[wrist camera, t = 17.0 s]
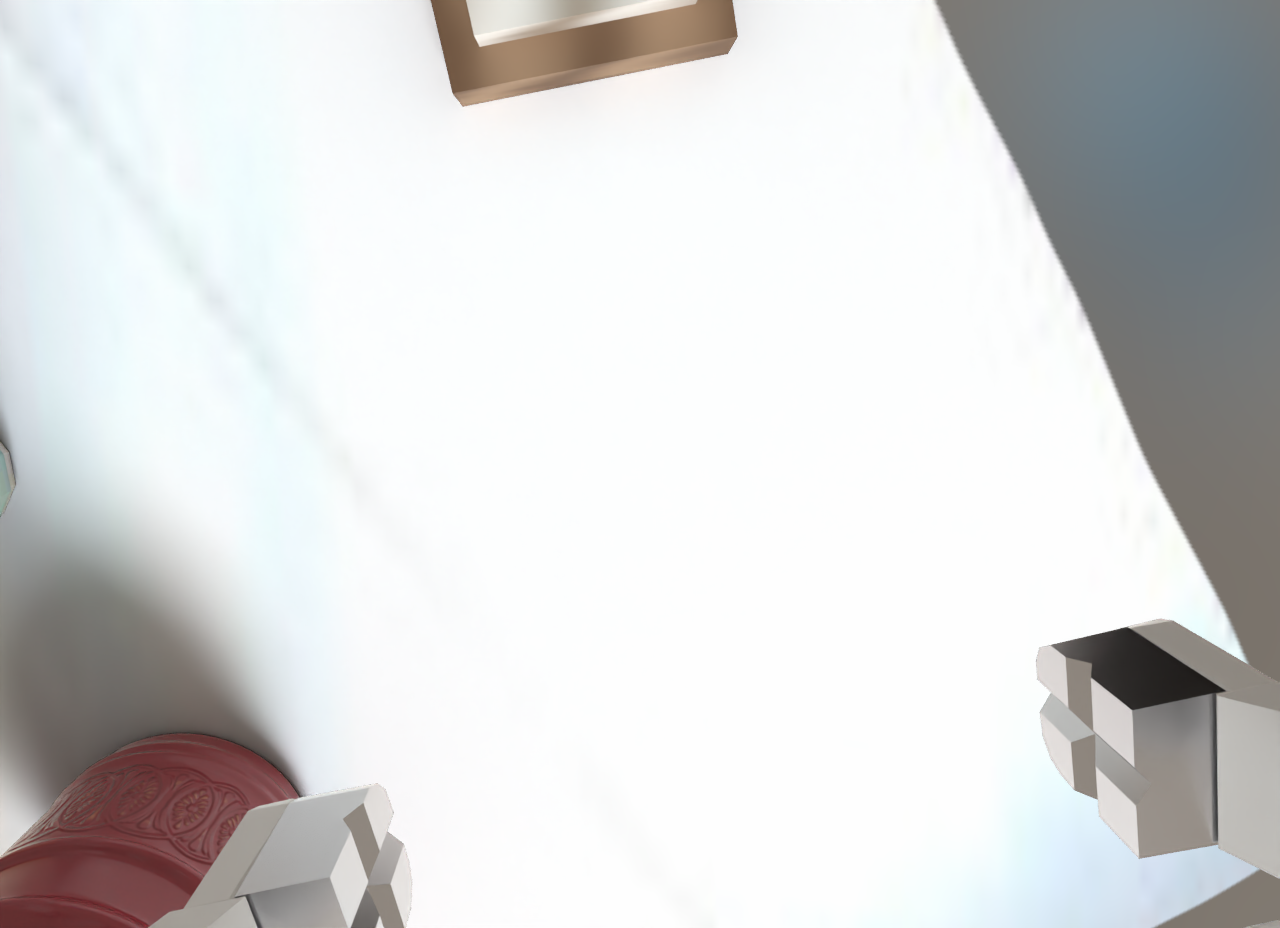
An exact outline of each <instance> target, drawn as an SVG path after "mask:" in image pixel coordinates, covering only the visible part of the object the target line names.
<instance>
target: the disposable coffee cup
mask: <svg viewBox="0 0 1280 928" xmlns="http://www.w3.org/2000/svg"><path fill="white" fill-rule="evenodd" d="M15 485H16V483H15V479H14V474H13V469H12V464H11V459H10V455H9V452H8V450H7V449H6V448H5V447H4V446H3V444H2V443H1V442H0V517H1V514H3V513H4V511H5V509H6V507H7V504H8V502H9V500H10V497H11V495H12V492H13V490H14V488H15Z"/></svg>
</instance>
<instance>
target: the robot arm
mask: <svg viewBox="0 0 1280 928" xmlns="http://www.w3.org/2000/svg"><path fill="white" fill-rule="evenodd" d="M1036 666H1037V679H1038V680H1039V681H1040V682H1041V683H1042V684H1043V685H1044V686H1045V687H1046V688H1047V689H1048V690H1049V691H1050V692H1051V694H1050V695H1049V697H1048V699H1047V700H1046V702H1045V704H1044V706H1043V707H1042V709H1041V711H1040V717H1041V726H1042V735H1043V739H1044V741H1045V744H1046V747H1047V749H1048V752H1049V755H1050V758H1051V760H1052V761H1053V763H1054V765H1055V766H1056V768H1057V770H1058V771H1059V773H1060V774H1061V776H1062V777H1063V778H1064V779H1065V780H1066V781H1067V782H1068V784H1069V785H1070V786H1071V787H1072V788H1073V789H1074V790H1075V791H1078V792H1080V793H1083V794H1085V795H1088V796H1090V797H1093V798H1095V799H1098V809H1099V817H1100V818H1101V819H1102V820H1103V821H1104V822H1105V823H1106V824H1107V825H1108V826H1109V827H1110V829H1111V830H1112V831H1113V832H1114V833H1115V834H1116V835H1117V836H1118V837H1119V838H1120V839H1121V840H1122V841H1123V842H1124V843H1125V844H1126V845H1127V846H1128V848H1129V849H1130V850H1131V851H1132V852H1133V853H1134V854H1135V855H1136V856H1137V857H1138V858H1139V859H1140V858H1145V857H1151V856H1157V855H1162V854H1168V853H1173V852H1179V851H1185V850H1190V849H1196V848H1201V847H1207V846H1213V845H1218V848H1219V849H1221V850H1223V851H1225V852H1227V853H1229V854H1231V855H1233V856H1235V857H1237V858H1239V859H1241V860H1243V861H1245V862H1247V863H1249V864H1251V865H1253V866H1255V867H1257V868H1259V869H1261V870H1263V871H1265V872H1267V873H1269V874H1271V875H1273V876H1275V877H1277V878H1279V879H1280V681H1275V680H1273V679H1272V678H1270V677H1268V676H1267V675H1265V674H1263V673H1262V672H1260V671H1258V670H1256V669H1255V668H1253V667H1251V666H1250V665H1248V664H1246V663H1244V662H1243V661H1241V660H1239V659H1238V658H1236V657H1234V656H1232V655H1231V654H1229V653H1227V652H1226V651H1224V650H1222V649H1221V648H1219V647H1217V646H1215V645H1214V644H1212V643H1210V642H1209V641H1207V640H1205V639H1203V638H1202V637H1200V636H1198V635H1197V634H1195V633H1193V632H1192V631H1190V630H1188V629H1186V628H1185V627H1183V626H1181V625H1180V624H1178V623H1176V622H1174V621H1172V620H1165V619H1156V620H1152V621H1148V622H1144V623H1140V624H1136V625H1132V626H1128V627H1124V628H1120V629H1117V630H1113V631H1108V632H1104V633H1100V634H1096V635H1091V636H1087V637H1083V638H1079V639H1074V640H1070V641H1066V642H1062V643H1057V644H1053V645H1049V646H1044V647H1040V648H1039V651H1038V655H1037V659H1036ZM393 814H394V812H393V809H392V806H391V803H390V800H389V798H388V795H387V792H386V789H384V788H383V787H382V786H380V785H379V784H378V783H376V784H370V785H365V786H360V787H354V788H349V789H343V790H338V791H333V792H327V793H322V794H316V795H311V796H306V797H300V798H298V799H288V800H284V801H279V802H275V803H270V804H266V805H261V806H258V807H256V808H253V809H251V810H249V811H248V812H247V813H246V815H245V816H244V818H243V819H242V821H241V822H240V824H239V825H238V827H237V828H236V830H235V831H234V833H233V834H232V836H231V837H230V839H229V840H228V842H227V843H226V845H225V846H224V848H223V850H222V851H221V853H220V854H219V856H218V857H217V859H216V860H215V862H214V863H213V865H212V866H211V868H210V869H209V871H208V872H207V874H206V875H205V877H204V878H203V880H202V881H201V883H200V884H199V886H198V887H197V889H196V890H195V892H194V893H193V895H192V896H191V898H190V899H189V901H188V902H187V904H186V905H185V907H184V909H180V910H176V911H171V912H168V913H167V914H166V915H164V916H163V917H162V918H160V919H159V920H158V921H156V922H155V923H154V924H152V925H151V926H150V927H148V928H406V925H407V921H408V918H409V914H410V910H411V896H412V877H411V871H410V864H409V859H408V856H407V853H406V849H405V846H404V844H403V843H402V842H401V841H399V840H398V839H397V838H395V837H394V836H393V835H391V834H390V833H389V832H387V830H388V827H389V825H390V822H391V819H392V817H393ZM1244 928H1280V920H1277V921H1272V922H1268V923H1263V924H1258V925H1254V926H1249V927H1244Z"/></svg>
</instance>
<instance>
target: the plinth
mask: <svg viewBox="0 0 1280 928" xmlns="http://www.w3.org/2000/svg"><path fill="white" fill-rule="evenodd" d="M431 3H432V7H433V11H434V15H435V20H436V24H437V28H438V33H439V37H440V41H441V45H442V50H443V54H444V58H445V62H446V67H447V71H448V75H449V80H450V84H451V88H452V92H453V94H454V96H455V97H456V98H457V100H458V101H459V102H460V103H461V105H462V106H468V105H473V104H478V103H483V102H488V101H493V100H498V99H503V98H508V97H513V96H518V95H523V94H528V93H533V92H538V91H543V90H548V89H553V88H558V87H563V86H568V85H573V84H578V83H583V82H588V81H593V80H598V79H603V78H609V77H614V76H619V75H624V74H629V73H634V72H639V71H644V70H649V69H654V68H659V67H664V66H669V65H674V64H679V63H684V62H689V61H694V60H699V59H704V58H709V57H714V56H719V55H724V54H728V52H729V51H730V49H731V47H732V45H733V44H734V42H735V40H736V39H737V37H738V36H737V29H736V22H735V16H734V9H733V2H732V0H431Z"/></svg>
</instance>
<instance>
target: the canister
mask: <svg viewBox="0 0 1280 928" xmlns="http://www.w3.org/2000/svg"><path fill="white" fill-rule="evenodd" d="M298 798H299V796H298V794H297V793H296V791H295V789H294V788H293V787H292V785H291V784H290V783H289V781H288V780H287V779H286V778H285V777H284V776H283V775H282V774H281V773H280V772H279V771H278V770H277V769H276V768H275V767H274V766H273V765H271V764H270V763H269V762H268V761H266V760H265V759H263V758H262V757H260V756H259V755H257V754H255V753H254V752H252V751H250V750H248V749H246V748H244V747H242V746H240V745H237V744H235V743H232V742H229V741H227V740H223V739H220V738H216V737H211V736H206V735H200V734H188V733H176V734H164V735H157V736H152V737H148V738H144V739H141V740H138V741H135V742H132V743H130V744H128V745H126V746H124V747H122V748H120V749H118V750H116V751H115V752H113V753H112V754H110V755H109V756H107V757H105V758H103V759H101V760H99V761H98V762H96V763H95V764H93V765H92V766H90V767H89V768H88V769H86V770H85V771H84V772H82V773H81V774H80V775H79V776H78V777H77V778H76V779H75V780H74V781H73V782H72V783H71V784H70V785H69V786H67V787H66V788H65V789H64V790H63V792H62V793H61V794H60V795H59V796H58V798H57V799H56V800H55V802H54V803H53V805H52V806H51V808H50V809H49V810H48V811H47V812H46V813H45V814H44V815H43V816H42V817H41V818H40V819H39V820H38V821H37V822H36V823H35V824H34V825H33V826H32V827H31V828H30V829H29V830H28V831H27V832H26V833H25V834H24V835H22V836H21V837H20V838H19V839H18V840H17V841H16V842H15V843H14V844H13V845H12V846H11V847H10V848H9V849H8V850H7V851H6V852H5V853H4V854H3V855H2V856H1V857H0V928H148V927H150V926H151V925H152V924H154V923H155V922H156V921H158V920H159V919H160V918H162V917H163V916H164V915H166V914H167V913H168V912H171V911H176V910H180V909H184V907H185V905H186V904H187V902H188V901H189V899H190V898H191V896H192V895H193V893H194V892H195V890H196V889H197V887H198V886H199V884H200V883H201V881H202V880H203V878H204V877H205V875H206V874H207V872H208V871H209V869H210V868H211V866H212V865H213V863H214V862H215V860H216V859H217V857H218V856H219V854H220V853H221V851H222V850H223V848H224V846H225V845H226V843H227V842H228V840H229V839H230V837H231V836H232V834H233V833H234V831H235V830H236V828H237V827H238V825H239V824H240V822H241V821H242V819H243V818H244V816H245V815H246V813H247V812H248V811H249V810H251V809H253V808H256V807H258V806H261V805H266V804H270V803H275V802H279V801H284V800H288V799H298Z"/></svg>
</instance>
